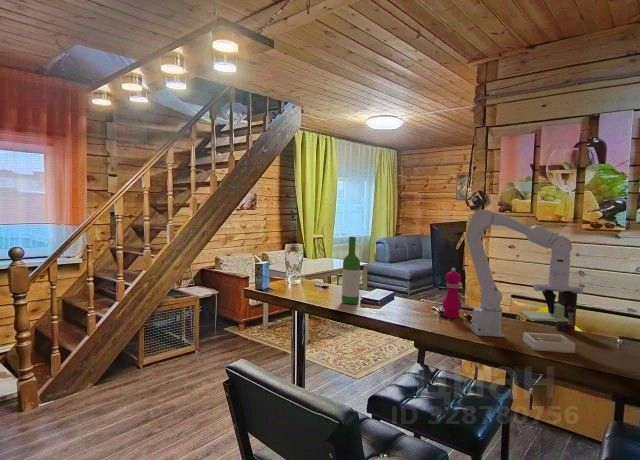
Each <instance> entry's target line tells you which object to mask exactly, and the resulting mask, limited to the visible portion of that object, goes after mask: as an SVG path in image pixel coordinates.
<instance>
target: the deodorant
mask: <svg viewBox="0 0 640 460" xmlns="http://www.w3.org/2000/svg"><path fill="white" fill-rule="evenodd" d="M557 293H558V295H557V303H559V304H560V296H559V292H557ZM572 294H574V297H573V299H572V300H571V301H570V303H569V304H568V306H567V308H566V311H565V314H564V317H565V318H567V319H569V322H565V321H556V325H555V326H556V327H555V330H556V331H559V332H561V333H567V334H574V333H575V332H576V321H577V320H576V317H577V304H578V303H577V302H578V293H572Z"/></svg>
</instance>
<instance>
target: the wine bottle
mask: <svg viewBox="0 0 640 460" xmlns="http://www.w3.org/2000/svg"><path fill="white" fill-rule="evenodd" d="M356 243H357V242H356V236H349V238H348V254H347V255H345V257H344V259H343V261H342V278H341V279H342V284H341V302H342V303H343V304H346V305H356V304H358V303H359V301H360V278H361V276H360V275H361V261H360V258H359V257H358V256H357V254H356Z"/></svg>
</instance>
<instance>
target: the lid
mask: <svg viewBox="0 0 640 460" xmlns="http://www.w3.org/2000/svg"><path fill="white" fill-rule="evenodd" d="M519 312H520V314H521V315H522V316H524V317H525V318H527V319H528V320H529V321H537V322H538V321H540V322H541V321H542V322H543V321H544V322H557V321H565V322H569V319H567V318H565V317H564V306H563V305H561V304H559V303H558V302H557V303H555V302H554V313H553V314H550V313H549V312H548V311H535V310H534V311H532V310H529V311H527V310H520V311H519Z"/></svg>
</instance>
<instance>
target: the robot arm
mask: <svg viewBox="0 0 640 460" xmlns="http://www.w3.org/2000/svg"><path fill="white" fill-rule="evenodd" d="M492 226H496V227H499V226H501V227H502V226H503V227H505V228H509V229H511V230H513V231H516V232H518V233H521V234H522V235H525V236H526V239H527V240H528V242H532V243H533V244H536V245H538V246H540V247H542V248H545V249H551V253H550V255H551V257H550V258H549V270H548V283H547V284H543V283H540V284H539V283H537V284H533V291H535V292H542V295H543V297H544V299H545V303H546V305H547V312H549V313H550V314H553V313H554V303H555V301H556V297H557V294H555V292H556V293H559V296H560V304H561V305H563V306H564V314H565V311H566V308H567V306H568V304H569V303H570V301H571V300H572V299H573V297H574V294H572V293H577V294H580V295H581V294H582V295H583V294H584V287H582V286H576V285H575V286H574V285H569V283H570V273H571V272H570V271H571V259H570V258H571V251H572V249H573V245H572V244H573V243H572V242H571V240H570V239H569V238H568V237H566V236H565V235H560V232H558V231H556V232H554V231H553V230H552V231H551V230H549V229H547V228H545V226H544V225H537V224H535V225H532V226H530V225H527V224H525V223H523V222H521V221H519V220H516V219H515V218H512V217H510V216H507V215H506V214H503V213H500V212H499V213H498V212H495V211H491V210H489V209H479V210H477V211H475V213H474V214H473V215H472V216H471V217H470V220H469V223H468V227H467V230H466V233H465V239H466V243H467V246H468V249H469V250H468V251H469V253H470V256H471V259H472V262H473V267H474V269H475V273H476V276H477V280H478V283H479V291H480V300H479V301H480V305H479V307H473V308H472V314H471V327H470V329H471V331H472V332H473V333H474V334H475V336H483V337H498V338H505V335H504V334H503V332H502V331H501V330H502V318H503V317H502V315H503V308H502V307H501V302H502V300H503V294H502V292H501V291H500V290H499V289H498V287H497V284H496V282H495V280H494V278H493V277H494V276H493V274H492V271H491V267H490V264H489V261H488V257H487V254H486V251H485V247H484V244H483V241H482V237H483V235H484V234H485V232H486V231H487V229H488V228H490V227H492Z"/></svg>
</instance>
